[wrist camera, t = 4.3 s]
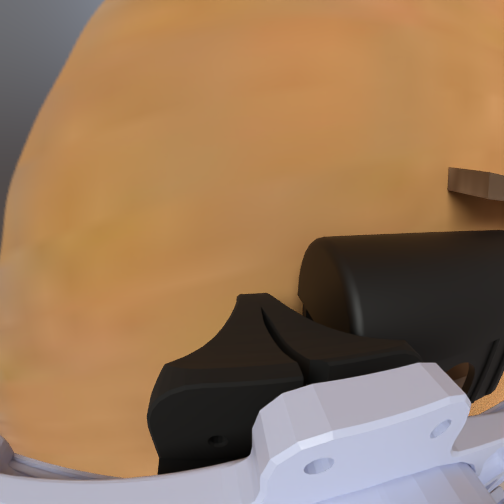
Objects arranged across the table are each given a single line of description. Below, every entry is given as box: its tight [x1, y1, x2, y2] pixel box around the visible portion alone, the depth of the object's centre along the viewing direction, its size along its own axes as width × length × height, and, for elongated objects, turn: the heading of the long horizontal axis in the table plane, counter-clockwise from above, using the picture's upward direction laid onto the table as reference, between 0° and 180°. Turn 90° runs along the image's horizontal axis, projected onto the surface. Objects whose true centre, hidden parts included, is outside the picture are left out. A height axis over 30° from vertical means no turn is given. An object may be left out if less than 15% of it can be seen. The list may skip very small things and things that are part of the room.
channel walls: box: [446, 167, 504, 389], centre depth 14 cm, size 12×10×3 cm
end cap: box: [298, 230, 504, 403], centre depth 11 cm, size 10×7×7 cm
